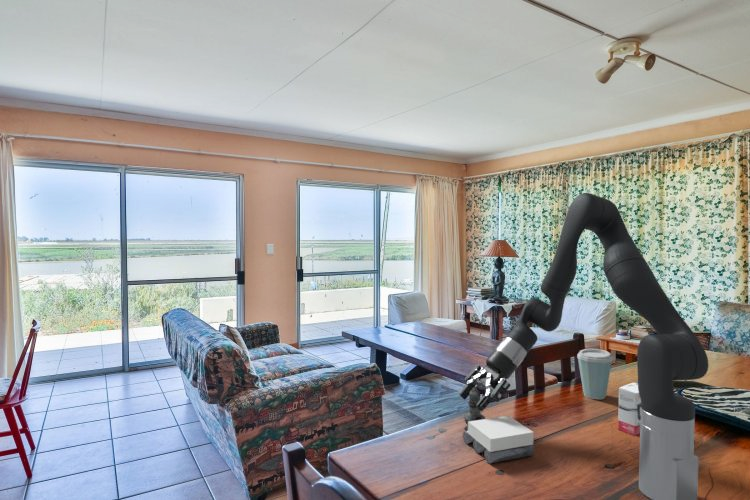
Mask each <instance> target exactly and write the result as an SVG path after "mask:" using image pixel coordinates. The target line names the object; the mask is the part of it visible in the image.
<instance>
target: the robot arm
mask: <svg viewBox="0 0 750 500" xmlns="http://www.w3.org/2000/svg"><path fill="white" fill-rule="evenodd" d="M616 205H617V204H615V203H614V202H612V201H611V200H610V199H607V198H604V197H602V196H599V195H596V194H593V193H589V192H582V193H580V194H578V195H577V196H575V198H574V199H573V201H572V202H571V203H570V205H569V207H568V210H567V214H566V215H565V219H564V222H563V226H562V229H561V233H560V236H559V240H558V243H557V248H556V250H555V254H554V256H553V259H552V262H551V263H550V265H549V268H548V270H547V272H546V275H545V276H544V279H543V280H542V283H541V284H540V292H542V293H543V295H545V296H546V297H547V298H548V299H549V303H547V302H545V301H543V300H542V299H540V298H537V297H532V298H530V299H528V300H526V302H525V303H524V305H523V307H522V310H521V312H520V315H519V317H518V319H517V321H516V323H515V325H514V327H512V329H511V330H510V332H509V333H508V334H507V336H506V337H505V338H504V339H502V340H501V342H500V343H498V344H497V346H496V347H495V349H493V351H492V352H491V353H490V354H489V356H488V357H487V358H486V360H485V363H486V364H485V366H484V367H482V366H481V365H480V364H475V366H474V367H473V368H472V369H471V371H470V372H469V373H468V374H466V377H465V378H464V381H465V382H466V384H465V386H463V388H462V389H461V391H460V393H459V396H460V397H461V398H462V399H463V400H466V399H467V398H468V397H469V393H470V391H471V390H473V389H474V387H476V388H482V387H484V388H485V394H484V395H482V396H481V397H480V400H479V402H478V403H477V404H476V407H477V408H478V409H479V410H480V412H483V411H484V410H485V409H486V408H487V407H488V406H489V404H490V403H491V402H494V401H495V402H496V403H499V402H500V401H501V399H502V398H503V396H504V395H505V394H506V392H507V391H508V390H509V388H510V387H511V383H510V382H509V381H508V379H510V378H511V377H512V375H513V373H514V372H515V371H516V370H517V369H518V367H519V366H520V364H522V362H523V361H524V359H525V357H527V354H528V353H529V352H530V350H531V349H532V348H533V347H534V345H536V343H537V341H538V335H537V333H536V332H534V330H532V328H531V327H530V326H529V324H530V323H531V324H534V325H535V326H537V327H538V328H540V329H541V330H542V331H545V332H553V331H555V330H556V329H557V328H558V327H559V326H560V324H561V321H562V317H563V310H564V305H565V302H566V301H565V300H566V296H567V294H568V292H569V290H570V288H571V287H572V284H573V283H574V280H575V278H576V275H577V271H578V253H577V252H578V245H579V240H580V238H581V236H582V234H583V232H584V230H588V231H590V232H593V233H594V234H595V235H596V236H597V238H598V240H599V242H600V243H601V245H602V247H603V249H604V256H603V262H602V263H603V265H602V267H603V273H604V276H605V277H606V279H607V282H608V283H609V285H610V287H611V290H612V291H613V292H614V294H615V296H616V297H617V298H618V299H619V300H620V301H622V303H623V304H625V305H626V306H627V307H629V308H630V309H631V310H633V311H634V312H635V313H637V314H638V315H639V316H641V317H642V318H643V319H644V320H645V321H647V322H648V323H649V325H651V327H652V328H653V330H654V331H655V332H656V333H655V334H652V333H651V334H647V335H645V336H643V337H642V338H641V339H640V341H639V343H638V347H637V353H636V354H637V355H636V362H637V363H636V365H637V366H636V367H637V383H638V391H639V395H640V398H641V421H640V434H639V458H638V459H639V460H638V461H639V462H638V489H639V491H640V492H641V493H642V494H643V495H645V497H647V498H649V499H650V500H698V490H699V489H698V487H699V463H700V462H699V461H700V459H699V457H698V455H695V454H694V452H695V450H694V449H695V446H694V445H695V423H696V421H695V420H696V407H695V406H696V405H695V404H694V402H693V401H692V400H690V399H689V398H687V397H685V396H684V395H681V394H678V393H675V390H674V389H675V388H674V381H691V380H699V379H701V378H704V377H705V376H706V375H707V372H708V370H709V358H708V355H707V352H706V350H705V348H704V346H703V344H702V342H701V341H700V339H699V338H698V337H697V335H696V334H695V333H694V331H693V330H692V328H691V327H690V326H689V325H688V323H687V322H686V321H685V319H683V317H682V315H680V313H679V312H678V310H677V309H676V308H675V306H674V305H673V303H672V302H671V300H670V299H669V297H668V296H667V294H666V292H665V291H664V290H663V288H662V286H661V285H660V283H659V282H658V280H657V278H656V276H655V274H654V272H653V270H652V268H651V267H650V266H649V263H648V262H647V260H646V259H645V258H644V256H643V254H642V253H641V250H639V248H638V247H637V244H636V243H635V241H634V239H633V238H632V237H631V234H630V233H629V231H628V229H627V226H626V224H625V222H624V220H623V217H622V214H621V212H620V211H619V209H618V207H617V206H616Z"/></svg>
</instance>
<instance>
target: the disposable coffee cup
mask: <svg viewBox="0 0 750 500" xmlns="http://www.w3.org/2000/svg"><path fill="white" fill-rule="evenodd" d="M576 355H577V356H576V357H577V361H578V369H579V373H580V375H579V376H580V379H581V380H580V381H581V384H582V385H581V386H582V393H583V394H584V396H585V397H586V398H588V399H592V400H604V399H605V398H606V397H607V393H608V392H607V391H608V386H609V379H610V374H611V368H612V362H613V356H612V355H611V352H609V351H607V350H604V349H600V348H584V349H581V350H579V351H578V353H577V354H576Z"/></svg>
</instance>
